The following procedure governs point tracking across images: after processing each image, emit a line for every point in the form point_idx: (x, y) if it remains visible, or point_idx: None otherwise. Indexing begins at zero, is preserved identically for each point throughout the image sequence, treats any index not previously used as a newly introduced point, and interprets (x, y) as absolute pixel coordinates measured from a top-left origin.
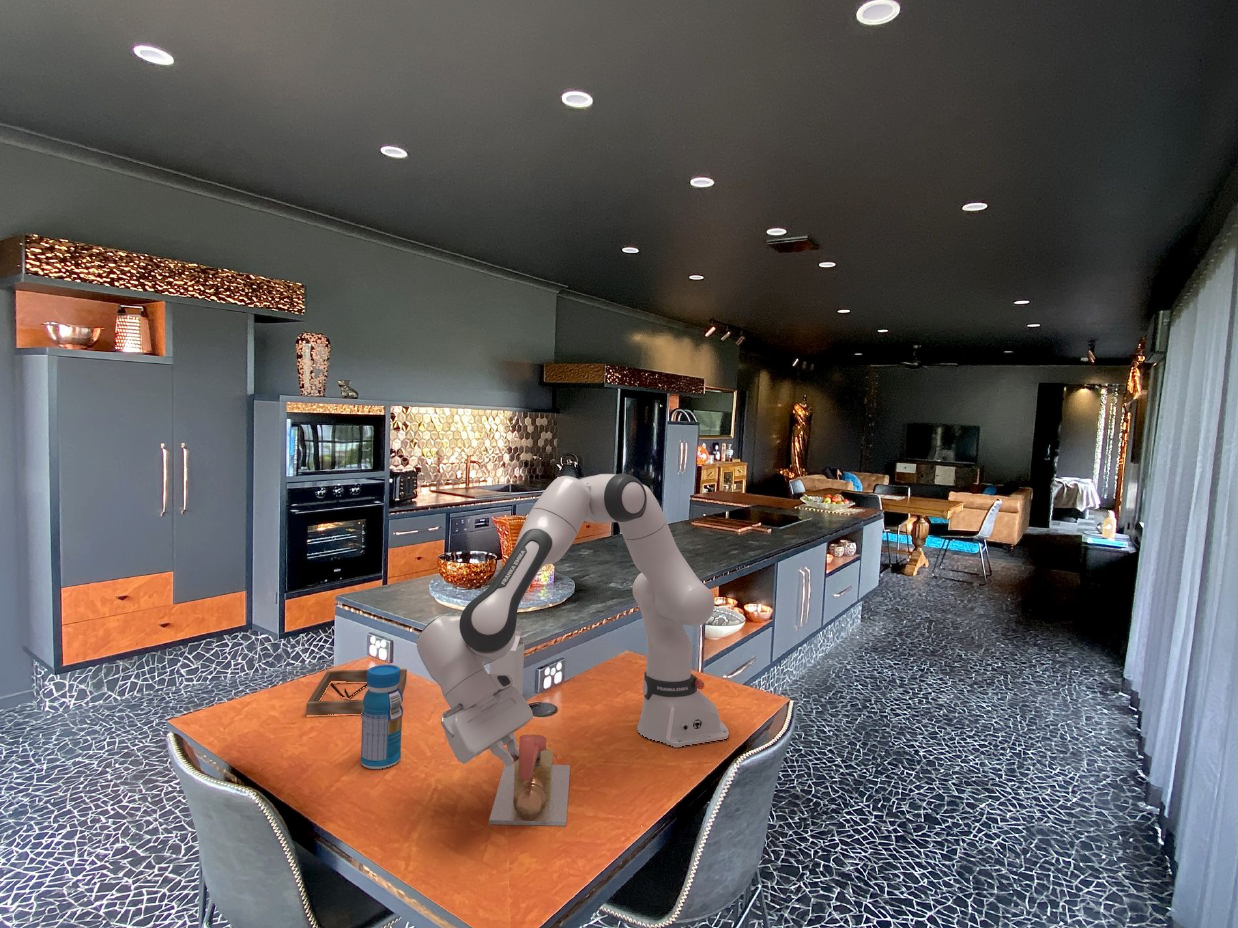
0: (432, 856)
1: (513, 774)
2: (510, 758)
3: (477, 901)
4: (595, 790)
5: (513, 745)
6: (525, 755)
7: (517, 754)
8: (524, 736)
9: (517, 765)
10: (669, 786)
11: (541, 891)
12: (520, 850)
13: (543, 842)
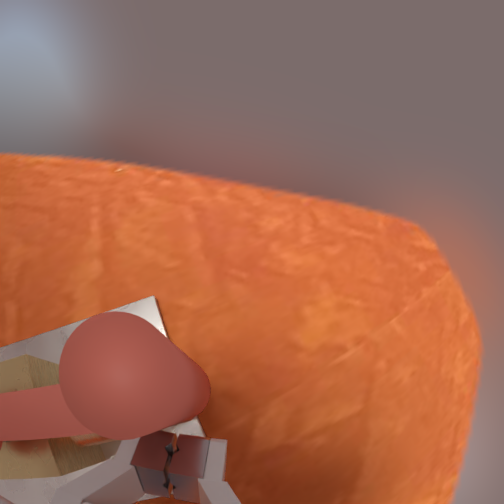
0: (389, 501)
1: (17, 483)
2: (224, 457)
3: (452, 338)
4: (15, 287)
5: (116, 484)
6: (193, 370)
7: (154, 441)
8: (99, 404)
9: (55, 467)
10: (4, 176)
11: (382, 254)
12: (292, 355)
13: (240, 320)
